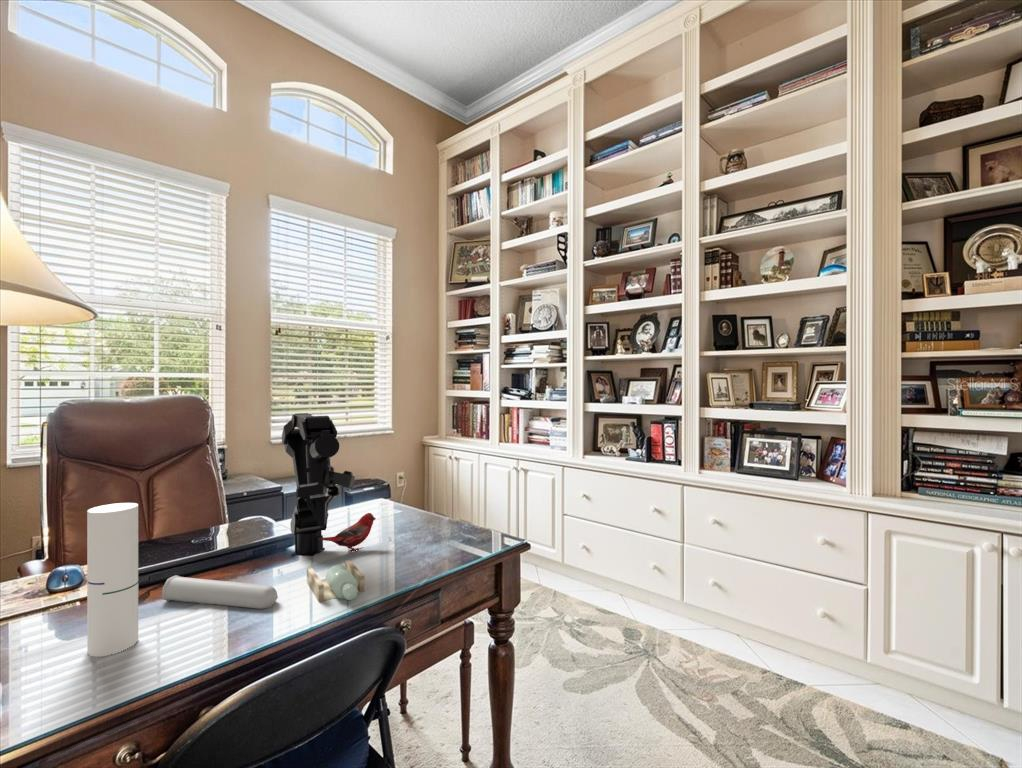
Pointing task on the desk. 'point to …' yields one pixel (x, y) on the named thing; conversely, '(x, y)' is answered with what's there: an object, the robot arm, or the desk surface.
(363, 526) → the decorative bird figurine
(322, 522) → the robot arm
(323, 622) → the desk surface
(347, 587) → the bottle
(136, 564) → the cylindrical container
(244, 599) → the tube
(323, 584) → the cradle
